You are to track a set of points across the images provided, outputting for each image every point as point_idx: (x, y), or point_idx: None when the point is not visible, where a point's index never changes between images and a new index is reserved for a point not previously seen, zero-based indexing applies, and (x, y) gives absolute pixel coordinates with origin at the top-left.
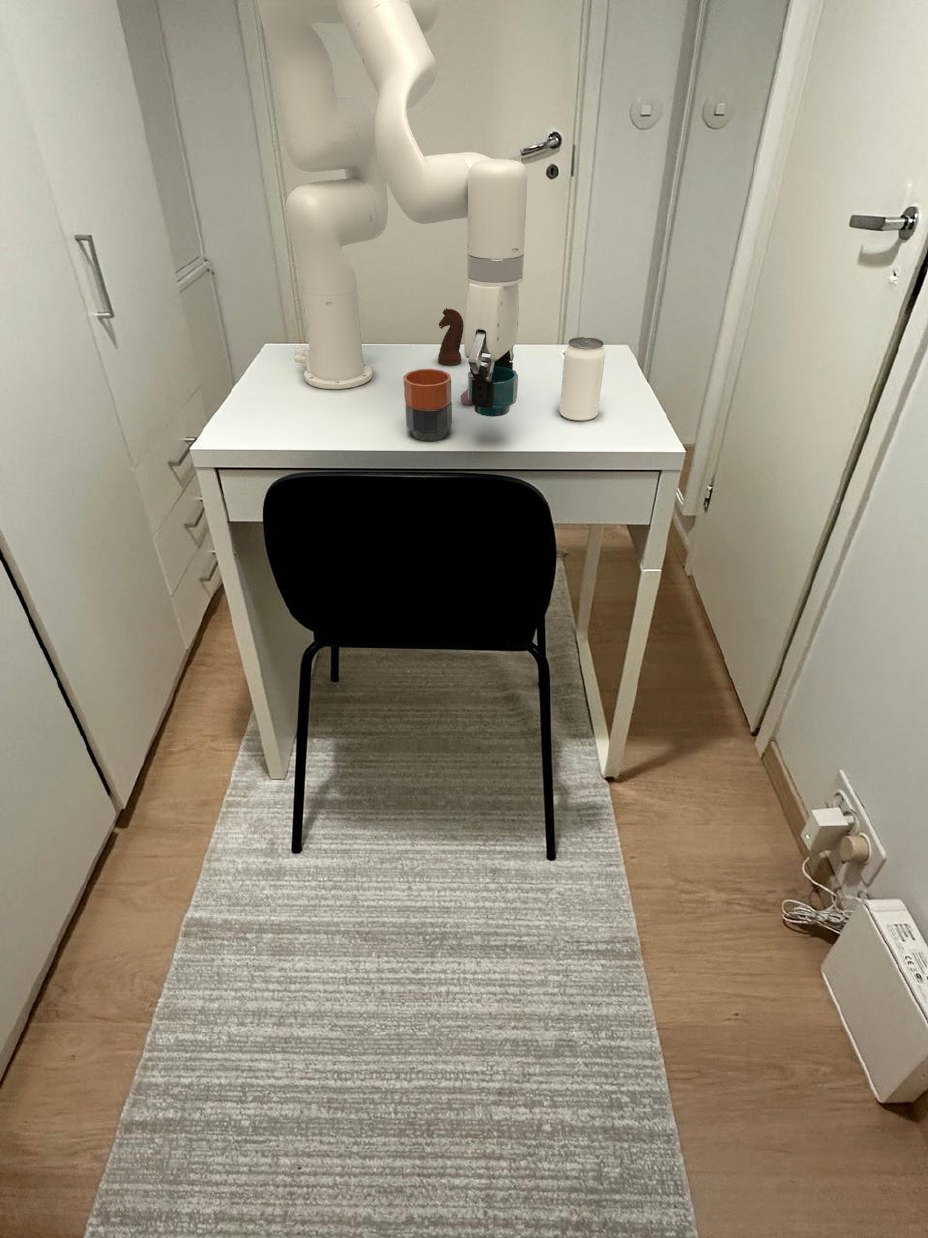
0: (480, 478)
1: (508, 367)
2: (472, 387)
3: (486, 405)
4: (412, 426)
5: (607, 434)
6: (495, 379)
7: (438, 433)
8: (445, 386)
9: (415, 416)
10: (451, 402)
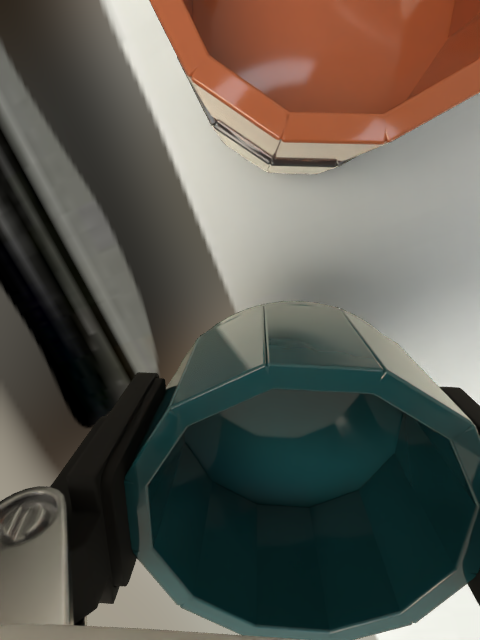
0: (73, 361)
1: (473, 582)
2: (100, 431)
3: None
4: None
5: None
6: (425, 444)
7: None
8: (271, 142)
9: None
10: (339, 163)
